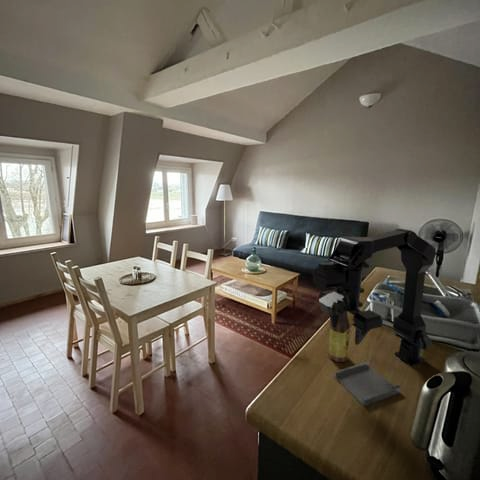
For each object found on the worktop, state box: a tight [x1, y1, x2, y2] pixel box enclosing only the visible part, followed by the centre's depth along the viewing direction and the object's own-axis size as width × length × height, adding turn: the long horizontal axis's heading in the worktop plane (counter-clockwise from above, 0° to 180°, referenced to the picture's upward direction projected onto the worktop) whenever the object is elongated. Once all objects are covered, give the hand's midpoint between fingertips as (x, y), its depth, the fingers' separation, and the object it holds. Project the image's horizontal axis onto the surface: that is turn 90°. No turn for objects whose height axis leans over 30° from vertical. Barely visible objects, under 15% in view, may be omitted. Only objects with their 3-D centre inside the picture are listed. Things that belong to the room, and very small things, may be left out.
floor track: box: [333, 361, 402, 407], centre depth 76 cm, size 13×12×2 cm
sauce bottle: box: [328, 311, 351, 363], centre depth 87 cm, size 6×6×20 cm
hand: (345, 335), depth 75 cm, fingers open, 9 cm apart
